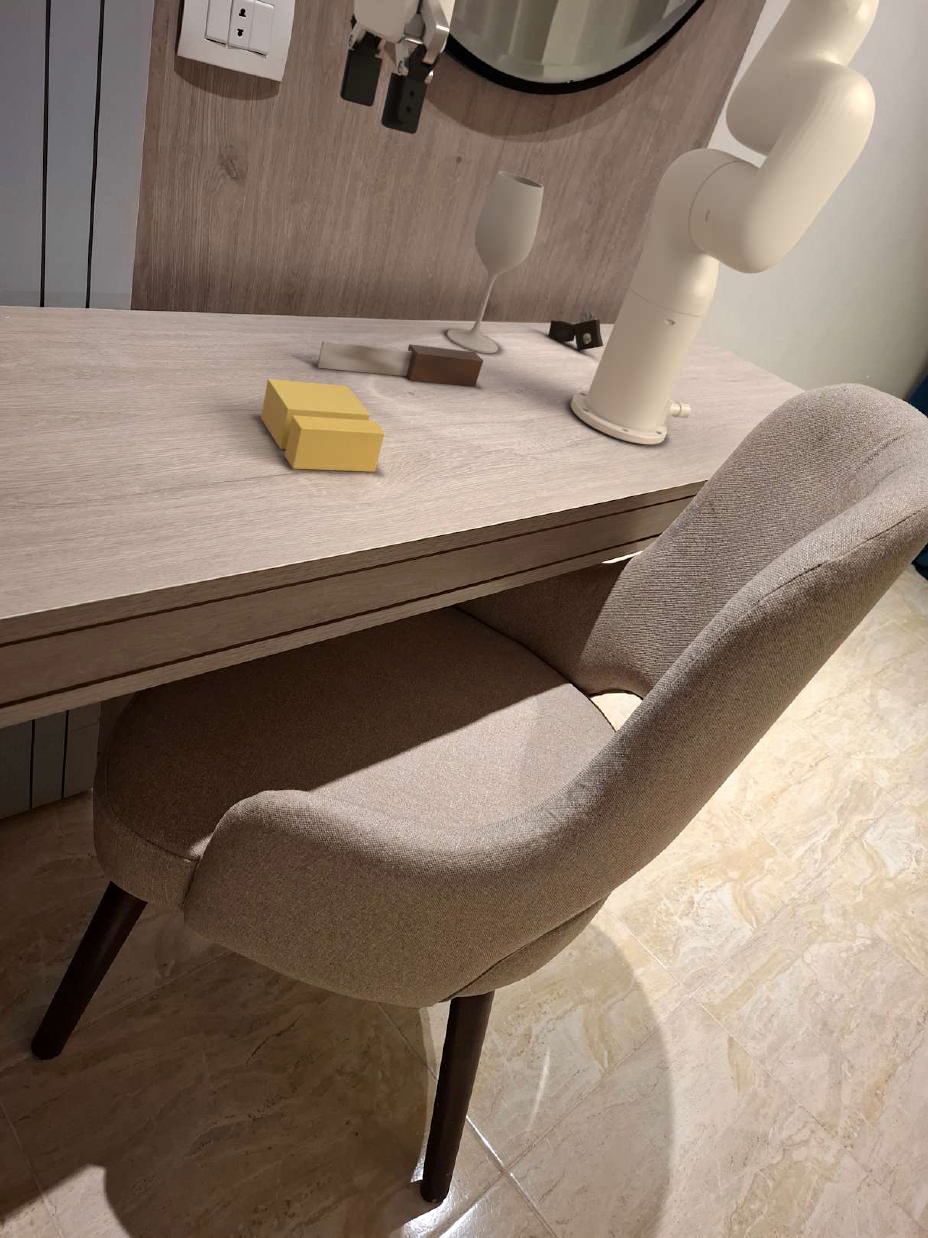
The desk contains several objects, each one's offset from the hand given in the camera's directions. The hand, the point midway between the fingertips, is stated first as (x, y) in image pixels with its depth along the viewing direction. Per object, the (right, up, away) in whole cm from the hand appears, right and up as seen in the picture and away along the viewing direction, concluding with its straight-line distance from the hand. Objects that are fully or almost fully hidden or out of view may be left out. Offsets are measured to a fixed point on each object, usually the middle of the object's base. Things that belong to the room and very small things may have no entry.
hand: (376, 115), depth 80 cm
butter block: (-7, -27, +5) cm, 29 cm away
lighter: (+24, -4, +55) cm, 60 cm away
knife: (0, -16, +25) cm, 30 cm away
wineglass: (+9, -7, +43) cm, 45 cm away
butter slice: (-4, -31, +2) cm, 31 cm away
